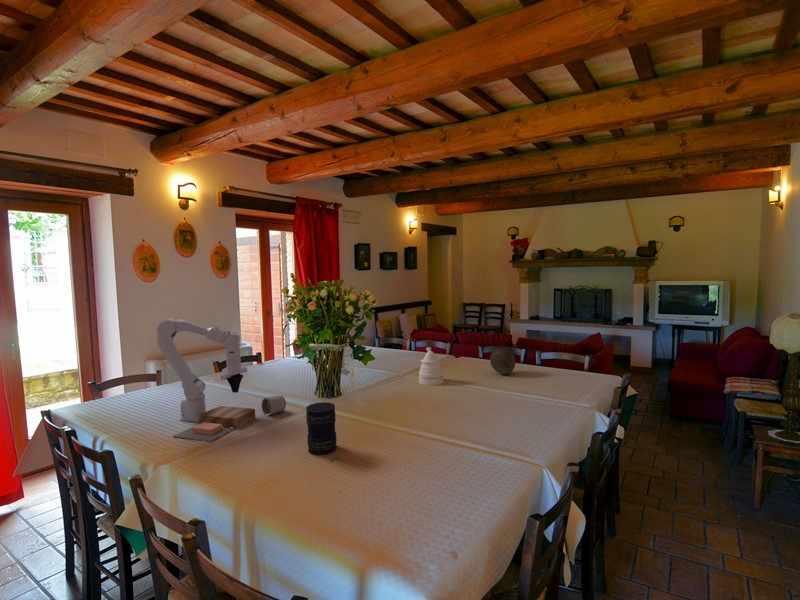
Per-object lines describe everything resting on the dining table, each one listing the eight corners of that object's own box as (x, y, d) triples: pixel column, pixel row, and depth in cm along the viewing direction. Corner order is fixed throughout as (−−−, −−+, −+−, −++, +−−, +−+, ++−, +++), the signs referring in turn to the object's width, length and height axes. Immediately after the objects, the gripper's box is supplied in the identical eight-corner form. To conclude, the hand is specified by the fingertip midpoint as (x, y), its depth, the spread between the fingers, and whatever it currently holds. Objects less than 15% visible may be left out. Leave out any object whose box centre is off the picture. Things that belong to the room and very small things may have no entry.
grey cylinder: (287, 412, 190) (286, 394, 190) (271, 417, 184) (270, 399, 183) (273, 407, 197) (272, 391, 196) (257, 412, 191) (256, 395, 190)
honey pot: (414, 380, 235) (414, 347, 234) (435, 377, 241) (434, 345, 239) (426, 386, 224) (425, 351, 222) (447, 383, 229) (447, 349, 228)
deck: (199, 424, 178) (198, 415, 177) (220, 414, 189) (219, 405, 189) (236, 428, 172) (235, 418, 172) (255, 418, 183) (254, 408, 183)
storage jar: (324, 441, 157) (322, 400, 156) (343, 447, 151) (341, 405, 149) (301, 450, 149) (299, 408, 148) (320, 458, 143) (318, 413, 142)
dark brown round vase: (519, 372, 246) (518, 346, 245) (511, 378, 234) (510, 350, 233) (494, 370, 253) (494, 344, 252) (486, 375, 242) (485, 348, 240)
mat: (172, 437, 165) (172, 436, 165) (198, 425, 177) (198, 424, 177) (211, 441, 159) (211, 440, 159) (235, 429, 172) (235, 428, 172)
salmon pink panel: (203, 422, 173) (203, 427, 174) (192, 427, 168) (192, 432, 168) (222, 424, 171) (222, 429, 171) (211, 429, 165) (211, 434, 165)
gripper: (229, 365, 179) (231, 397, 180) (252, 357, 193) (253, 388, 194) (215, 364, 181) (217, 396, 182) (238, 357, 195) (240, 387, 196)
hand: (235, 392), depth 188 cm, fingers closed
